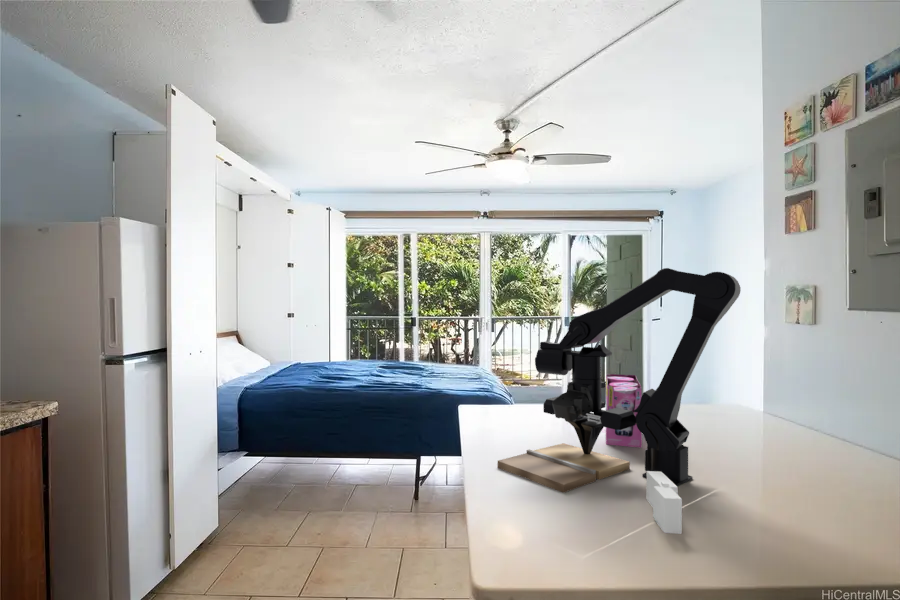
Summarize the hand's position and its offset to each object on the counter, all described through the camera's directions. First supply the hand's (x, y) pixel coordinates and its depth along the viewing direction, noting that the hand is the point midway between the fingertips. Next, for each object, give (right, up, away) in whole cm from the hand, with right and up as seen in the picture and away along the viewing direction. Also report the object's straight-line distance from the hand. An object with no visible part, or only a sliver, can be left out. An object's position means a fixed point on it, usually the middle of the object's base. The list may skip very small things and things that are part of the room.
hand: (587, 453), depth 100 cm
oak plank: (-2, -1, -2) cm, 3 cm away
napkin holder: (+4, -2, -26) cm, 27 cm away
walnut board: (-10, -1, -8) cm, 13 cm away
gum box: (+15, -2, +21) cm, 26 cm away
